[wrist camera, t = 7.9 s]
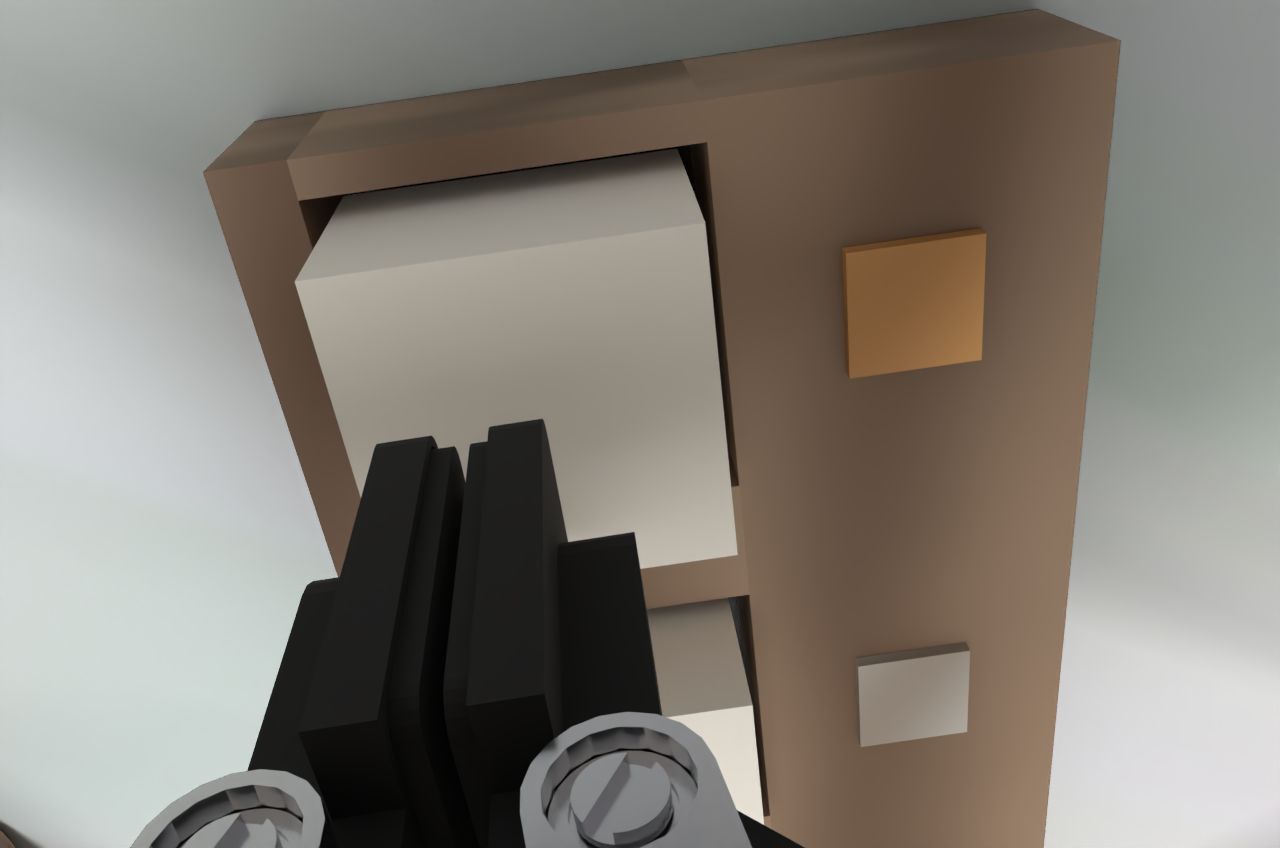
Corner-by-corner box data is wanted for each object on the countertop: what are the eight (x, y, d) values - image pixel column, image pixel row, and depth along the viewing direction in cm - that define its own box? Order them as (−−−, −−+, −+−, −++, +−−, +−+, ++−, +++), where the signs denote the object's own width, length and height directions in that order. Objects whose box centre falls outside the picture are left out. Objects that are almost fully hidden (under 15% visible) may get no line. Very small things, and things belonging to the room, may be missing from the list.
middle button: (722, 573, 17) (751, 705, 15) (743, 763, 20) (772, 907, 17) (456, 611, 17) (437, 750, 15) (505, 796, 20) (497, 946, 17)
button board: (1037, 9, 15) (1129, 43, 12) (984, 917, 25) (1030, 1032, 22) (254, 121, 15) (198, 177, 12) (515, 984, 25) (511, 1106, 22)
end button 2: (676, 148, 14) (705, 223, 11) (708, 436, 16) (738, 555, 13) (343, 196, 14) (294, 281, 11) (419, 477, 16) (393, 604, 13)
